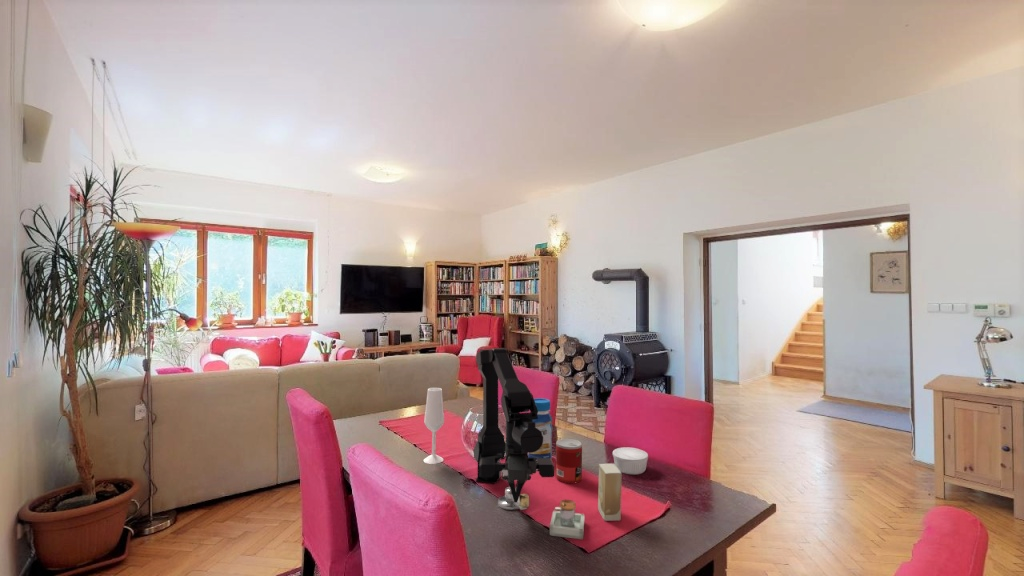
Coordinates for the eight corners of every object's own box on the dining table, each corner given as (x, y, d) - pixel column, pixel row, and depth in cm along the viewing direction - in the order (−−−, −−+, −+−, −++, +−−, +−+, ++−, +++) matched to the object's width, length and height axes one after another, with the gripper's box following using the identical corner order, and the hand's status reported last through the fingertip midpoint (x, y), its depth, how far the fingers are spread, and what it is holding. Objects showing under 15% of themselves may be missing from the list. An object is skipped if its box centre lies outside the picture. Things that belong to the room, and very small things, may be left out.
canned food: (581, 485, 130) (581, 448, 130) (554, 482, 132) (554, 445, 132) (582, 474, 138) (582, 439, 138) (557, 472, 139) (557, 437, 140)
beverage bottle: (556, 457, 152) (557, 399, 152) (544, 465, 145) (545, 404, 145) (535, 452, 157) (535, 396, 157) (523, 459, 150) (523, 401, 150)
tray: (549, 535, 103) (549, 526, 103) (553, 518, 111) (553, 510, 111) (582, 539, 101) (583, 530, 102) (584, 522, 109) (584, 514, 109)
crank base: (495, 508, 116) (495, 505, 116) (501, 496, 122) (501, 493, 122) (521, 511, 114) (521, 508, 114) (525, 499, 121) (525, 496, 121)
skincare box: (597, 509, 116) (597, 462, 116) (613, 508, 116) (613, 462, 116) (604, 521, 109) (605, 472, 110) (621, 521, 110) (622, 472, 110)
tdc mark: (554, 509, 115) (554, 508, 115) (555, 507, 116) (555, 506, 116) (566, 511, 115) (566, 509, 115) (566, 509, 116) (566, 508, 116)
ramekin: (609, 472, 140) (610, 456, 140) (615, 460, 150) (615, 445, 150) (646, 478, 135) (646, 461, 135) (649, 465, 146) (649, 449, 146)
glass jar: (558, 529, 105) (559, 506, 105) (560, 521, 108) (560, 498, 108) (574, 531, 104) (575, 507, 104) (575, 522, 108) (576, 500, 108)
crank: (503, 499, 119) (503, 480, 119) (513, 497, 120) (514, 478, 120) (520, 519, 109) (520, 499, 109) (531, 516, 110) (532, 496, 110)
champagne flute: (447, 461, 147) (448, 389, 148) (428, 465, 144) (430, 392, 144) (438, 454, 153) (439, 386, 153) (420, 458, 149) (421, 388, 149)
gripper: (479, 450, 102) (477, 517, 102) (558, 450, 103) (557, 517, 103) (480, 435, 113) (479, 496, 113) (551, 435, 114) (550, 496, 114)
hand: (515, 501), depth 110 cm, fingers closed
